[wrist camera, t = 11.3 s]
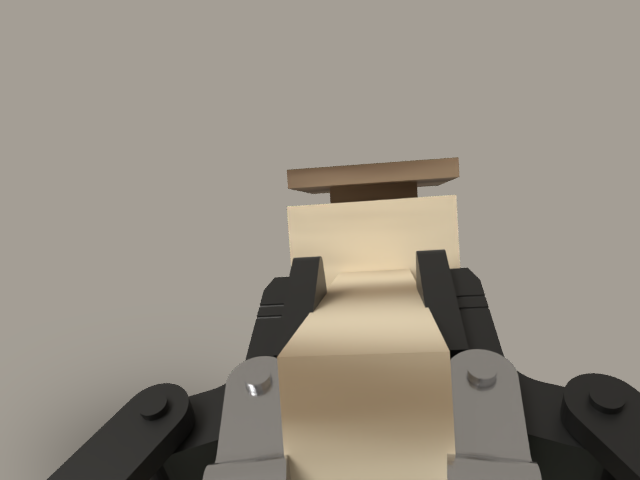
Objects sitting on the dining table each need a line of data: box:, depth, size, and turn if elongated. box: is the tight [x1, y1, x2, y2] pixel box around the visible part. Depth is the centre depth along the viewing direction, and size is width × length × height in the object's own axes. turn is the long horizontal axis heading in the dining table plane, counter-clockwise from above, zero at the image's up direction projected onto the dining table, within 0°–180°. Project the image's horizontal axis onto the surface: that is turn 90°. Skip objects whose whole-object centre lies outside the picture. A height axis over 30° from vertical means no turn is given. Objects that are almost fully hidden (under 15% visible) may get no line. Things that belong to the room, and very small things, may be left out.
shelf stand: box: [287, 157, 459, 204], centre depth 33 cm, size 10×10×32 cm
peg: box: [277, 195, 460, 480], centre depth 16 cm, size 17×6×5 cm, turn 173°
